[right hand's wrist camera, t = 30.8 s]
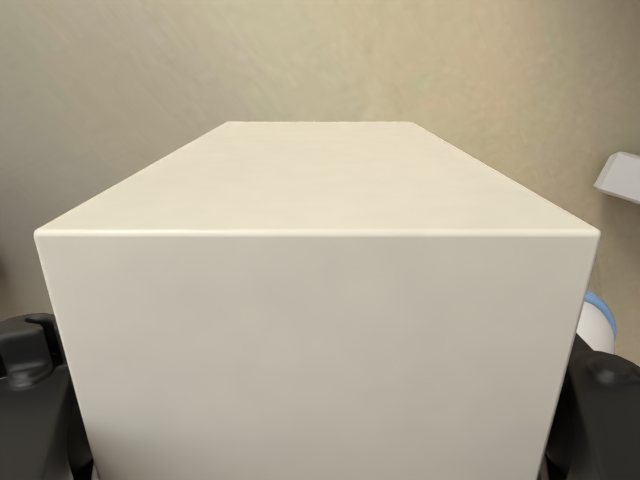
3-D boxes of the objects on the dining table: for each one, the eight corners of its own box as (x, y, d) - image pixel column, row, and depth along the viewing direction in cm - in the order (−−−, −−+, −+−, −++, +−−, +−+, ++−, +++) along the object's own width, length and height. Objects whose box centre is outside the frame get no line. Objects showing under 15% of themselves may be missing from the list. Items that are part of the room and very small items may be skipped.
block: (397, 316, 18) (498, 636, 8) (241, 316, 18) (138, 635, 8) (413, 121, 15) (606, 231, 5) (225, 121, 15) (28, 230, 5)
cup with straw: (541, 316, 44) (680, 470, 27) (451, 322, 44) (534, 478, 27) (552, 233, 40) (720, 349, 23) (455, 240, 40) (552, 359, 24)
